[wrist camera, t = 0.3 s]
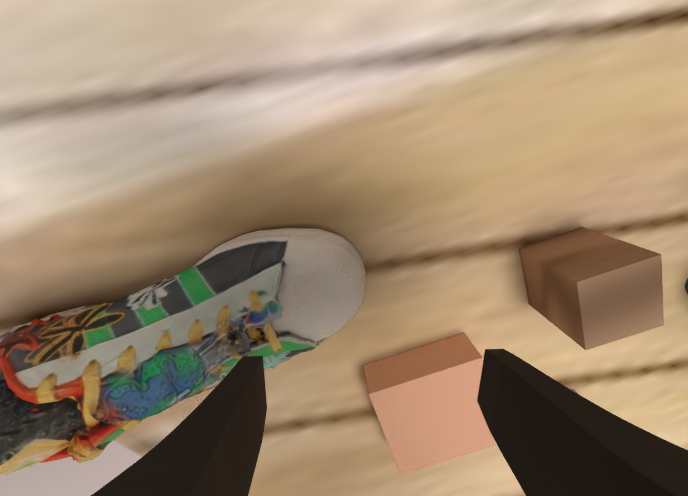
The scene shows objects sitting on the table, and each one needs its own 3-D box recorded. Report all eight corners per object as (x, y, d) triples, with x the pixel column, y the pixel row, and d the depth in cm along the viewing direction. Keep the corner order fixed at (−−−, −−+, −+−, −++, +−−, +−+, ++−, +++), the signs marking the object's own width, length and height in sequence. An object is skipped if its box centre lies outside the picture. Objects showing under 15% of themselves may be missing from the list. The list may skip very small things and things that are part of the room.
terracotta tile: (482, 407, 25) (502, 442, 22) (391, 436, 25) (400, 474, 22) (461, 329, 23) (482, 357, 20) (362, 362, 23) (368, 394, 20)
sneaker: (379, 311, 21) (419, 445, 12) (73, 408, 23) (-103, 597, 13) (341, 198, 19) (354, 258, 10) (2, 314, 20) (-272, 464, 11)
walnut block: (588, 284, 22) (663, 325, 17) (528, 304, 22) (585, 350, 17) (582, 227, 20) (661, 254, 16) (518, 248, 21) (576, 282, 16)
